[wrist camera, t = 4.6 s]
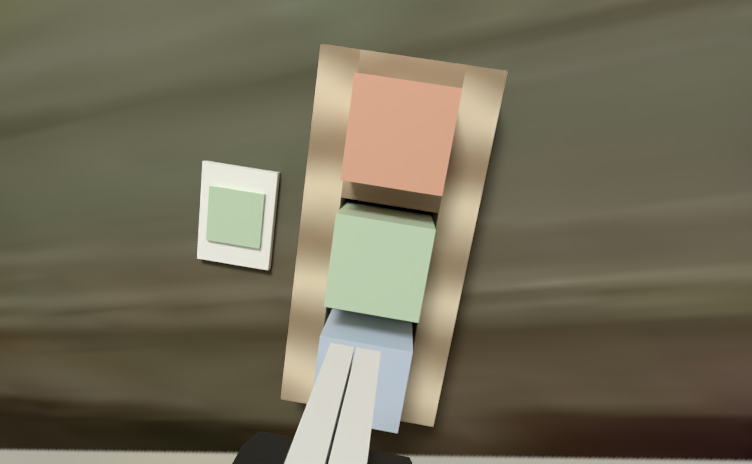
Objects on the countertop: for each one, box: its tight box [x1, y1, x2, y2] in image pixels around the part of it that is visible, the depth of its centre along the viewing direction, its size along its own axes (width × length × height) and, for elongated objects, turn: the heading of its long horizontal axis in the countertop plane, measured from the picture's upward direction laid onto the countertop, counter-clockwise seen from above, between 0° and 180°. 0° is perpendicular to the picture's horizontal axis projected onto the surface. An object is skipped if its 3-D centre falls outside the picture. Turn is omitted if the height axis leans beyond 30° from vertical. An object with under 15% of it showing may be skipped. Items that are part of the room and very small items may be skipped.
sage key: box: [324, 202, 436, 323], centre depth 27 cm, size 6×6×5 cm
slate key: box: [313, 308, 413, 433], centre depth 29 cm, size 6×6×5 cm
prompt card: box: [197, 161, 280, 270], centre depth 33 cm, size 8×6×1 cm
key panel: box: [281, 44, 508, 427], centre depth 31 cm, size 26×12×4 cm, turn 171°
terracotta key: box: [340, 72, 462, 196], centre depth 25 cm, size 6×6×5 cm
